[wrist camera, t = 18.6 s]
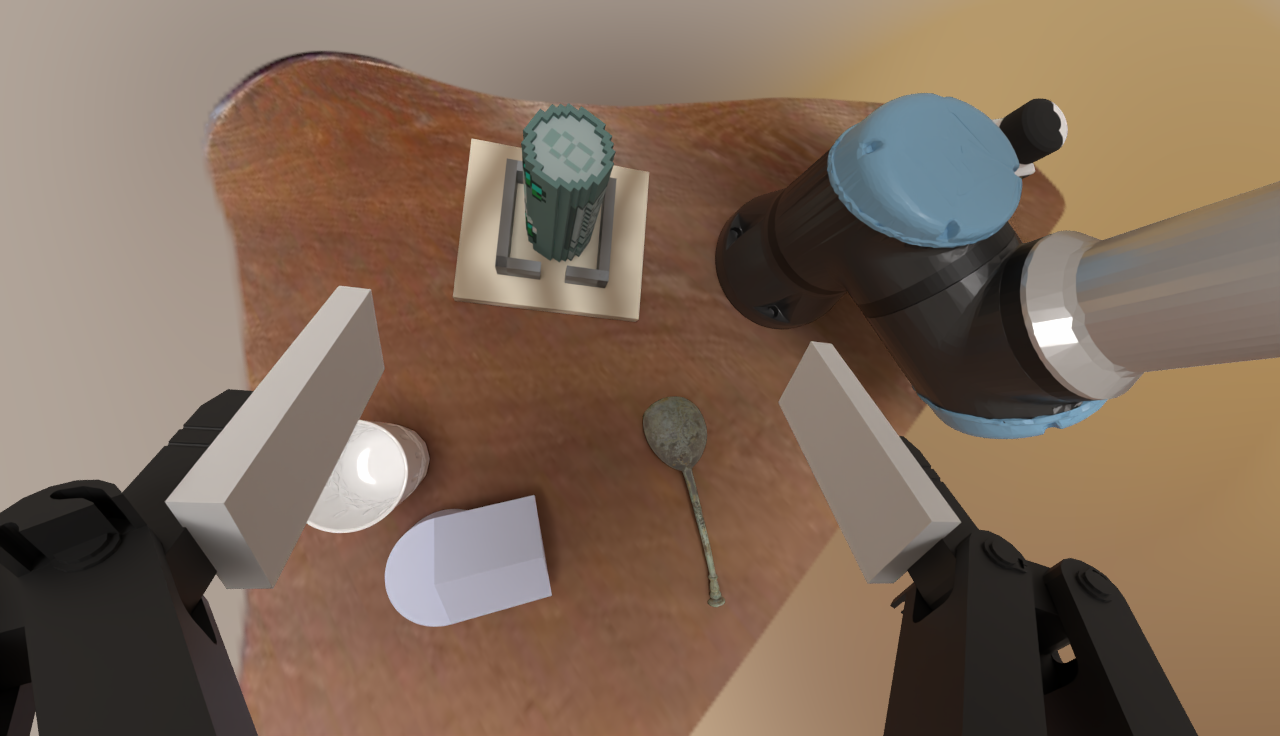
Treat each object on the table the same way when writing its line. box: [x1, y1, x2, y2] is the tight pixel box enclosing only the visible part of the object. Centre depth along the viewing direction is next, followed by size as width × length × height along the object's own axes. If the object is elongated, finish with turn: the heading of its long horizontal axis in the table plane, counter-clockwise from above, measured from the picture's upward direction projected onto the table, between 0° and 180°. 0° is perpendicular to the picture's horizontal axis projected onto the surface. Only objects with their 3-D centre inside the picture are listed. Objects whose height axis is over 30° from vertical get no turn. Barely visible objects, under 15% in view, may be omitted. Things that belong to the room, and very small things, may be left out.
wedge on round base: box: [385, 495, 552, 627], centre depth 40 cm, size 9×7×13 cm
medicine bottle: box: [992, 99, 1068, 179], centre depth 54 cm, size 7×7×12 cm
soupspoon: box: [643, 397, 725, 607], centre depth 47 cm, size 22×3×7 cm
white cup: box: [307, 420, 430, 533], centre depth 37 cm, size 8×8×10 cm
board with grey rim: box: [453, 139, 649, 322], centre depth 45 cm, size 18×16×4 cm
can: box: [521, 103, 616, 263], centre depth 39 cm, size 6×6×15 cm
